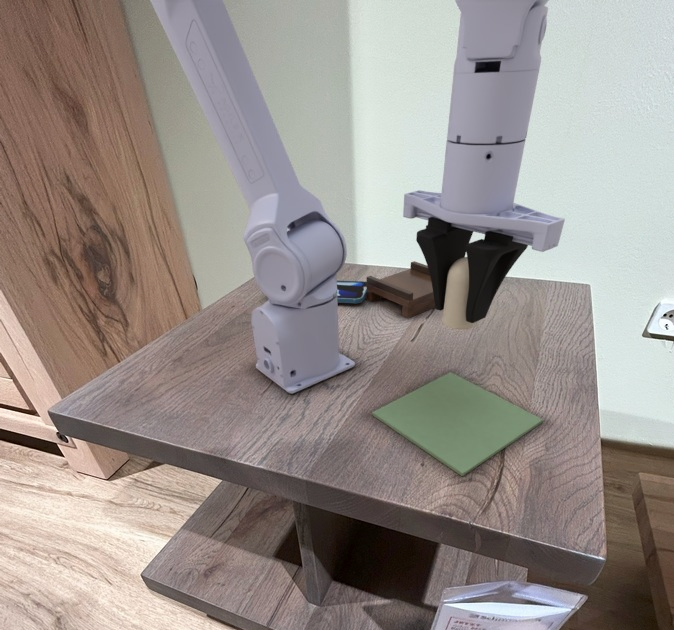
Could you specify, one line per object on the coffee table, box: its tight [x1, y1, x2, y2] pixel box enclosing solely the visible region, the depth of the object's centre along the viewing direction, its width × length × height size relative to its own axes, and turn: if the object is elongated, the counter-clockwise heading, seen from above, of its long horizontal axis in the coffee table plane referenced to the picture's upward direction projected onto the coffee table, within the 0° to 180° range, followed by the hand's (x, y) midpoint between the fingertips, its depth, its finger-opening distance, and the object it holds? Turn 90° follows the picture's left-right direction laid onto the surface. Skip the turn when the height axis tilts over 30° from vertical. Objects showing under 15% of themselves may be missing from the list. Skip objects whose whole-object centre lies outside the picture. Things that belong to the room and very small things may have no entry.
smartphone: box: [337, 279, 367, 305], centre depth 71 cm, size 7×1×15 cm
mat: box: [371, 371, 544, 477], centre depth 46 cm, size 12×12×1 cm
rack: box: [365, 260, 435, 319], centre depth 68 cm, size 10×9×4 cm
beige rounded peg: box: [441, 256, 478, 331], centre depth 41 cm, size 3×3×6 cm
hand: (460, 312), depth 43 cm, fingers closed on beige rounded peg, 3 cm apart
